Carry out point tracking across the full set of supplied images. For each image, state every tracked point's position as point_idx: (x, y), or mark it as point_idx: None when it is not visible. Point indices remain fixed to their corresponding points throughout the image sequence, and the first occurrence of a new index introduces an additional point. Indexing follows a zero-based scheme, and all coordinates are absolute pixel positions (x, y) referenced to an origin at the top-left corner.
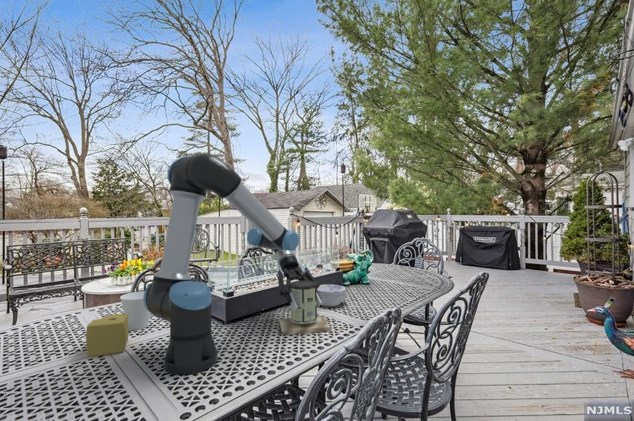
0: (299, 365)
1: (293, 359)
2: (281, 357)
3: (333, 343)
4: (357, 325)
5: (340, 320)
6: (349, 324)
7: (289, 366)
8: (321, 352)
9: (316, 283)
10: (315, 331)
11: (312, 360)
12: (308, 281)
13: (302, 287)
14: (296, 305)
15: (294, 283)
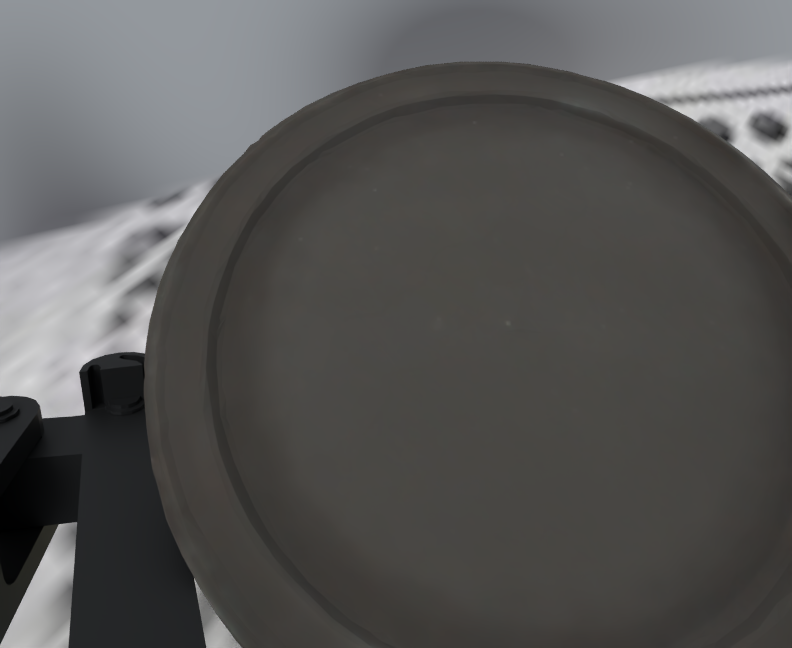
0: (735, 89)
1: (738, 141)
2: (787, 189)
3: None
4: (101, 227)
5: (80, 381)
6: (119, 274)
7: (781, 107)
8: None
9: (285, 124)
10: None
11: (660, 86)
12: (230, 450)
13: (698, 134)
14: None
15: (728, 550)
